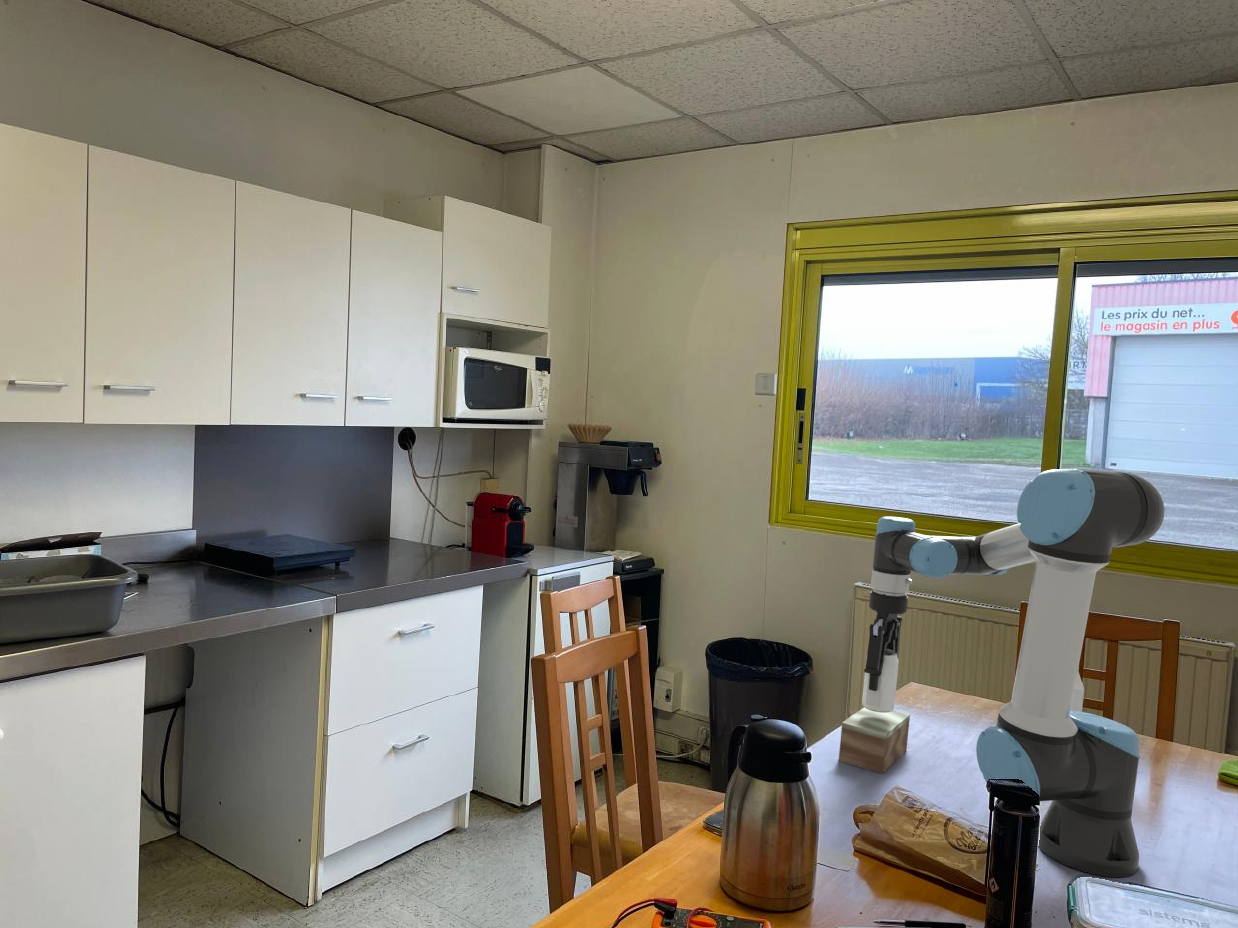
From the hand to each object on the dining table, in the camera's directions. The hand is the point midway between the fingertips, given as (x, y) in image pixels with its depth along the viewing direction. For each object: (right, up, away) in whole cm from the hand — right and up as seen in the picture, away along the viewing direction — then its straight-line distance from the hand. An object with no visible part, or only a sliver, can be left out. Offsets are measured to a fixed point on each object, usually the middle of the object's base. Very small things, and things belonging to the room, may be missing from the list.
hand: (878, 700), depth 187 cm
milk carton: (+43, -14, +13) cm, 47 cm away
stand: (-1, -12, +1) cm, 12 cm away
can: (0, -2, 0) cm, 2 cm away
